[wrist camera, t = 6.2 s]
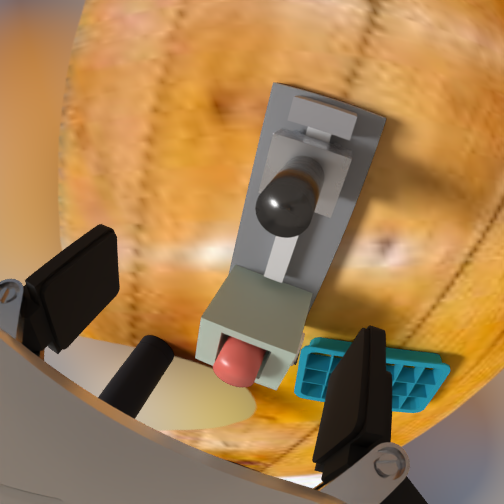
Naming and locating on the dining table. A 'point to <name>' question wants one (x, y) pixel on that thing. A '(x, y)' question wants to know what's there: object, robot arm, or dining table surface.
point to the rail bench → (320, 225)
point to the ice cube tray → (403, 378)
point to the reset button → (238, 362)
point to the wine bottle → (138, 376)
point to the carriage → (299, 182)
